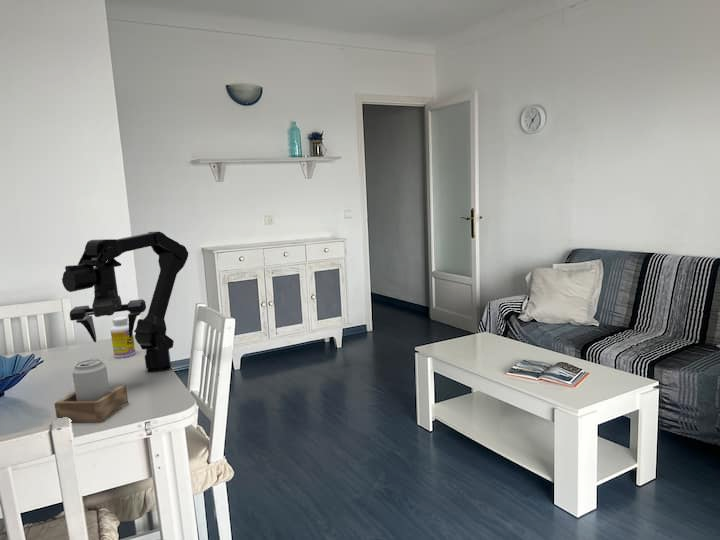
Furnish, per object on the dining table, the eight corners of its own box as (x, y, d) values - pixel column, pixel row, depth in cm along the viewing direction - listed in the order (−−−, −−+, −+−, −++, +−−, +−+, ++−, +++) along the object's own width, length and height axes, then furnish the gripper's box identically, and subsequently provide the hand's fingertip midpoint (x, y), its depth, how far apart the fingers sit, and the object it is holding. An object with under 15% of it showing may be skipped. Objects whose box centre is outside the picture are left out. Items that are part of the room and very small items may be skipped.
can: (73, 410, 135) (65, 363, 133) (103, 400, 141) (96, 355, 139) (87, 416, 130) (79, 368, 129) (117, 405, 136) (110, 359, 134)
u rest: (87, 403, 141) (84, 385, 141) (128, 403, 140) (125, 385, 139) (57, 422, 130) (54, 403, 130) (101, 422, 129) (98, 402, 128)
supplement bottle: (130, 357, 181) (125, 320, 179) (110, 359, 181) (105, 321, 179) (138, 351, 187) (133, 315, 185) (119, 353, 187) (114, 316, 186)
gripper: (60, 293, 141) (69, 352, 143) (137, 285, 145) (145, 342, 148) (71, 287, 151) (79, 341, 154) (142, 279, 156) (149, 332, 158)
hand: (113, 339), depth 153 cm, fingers open, 9 cm apart
